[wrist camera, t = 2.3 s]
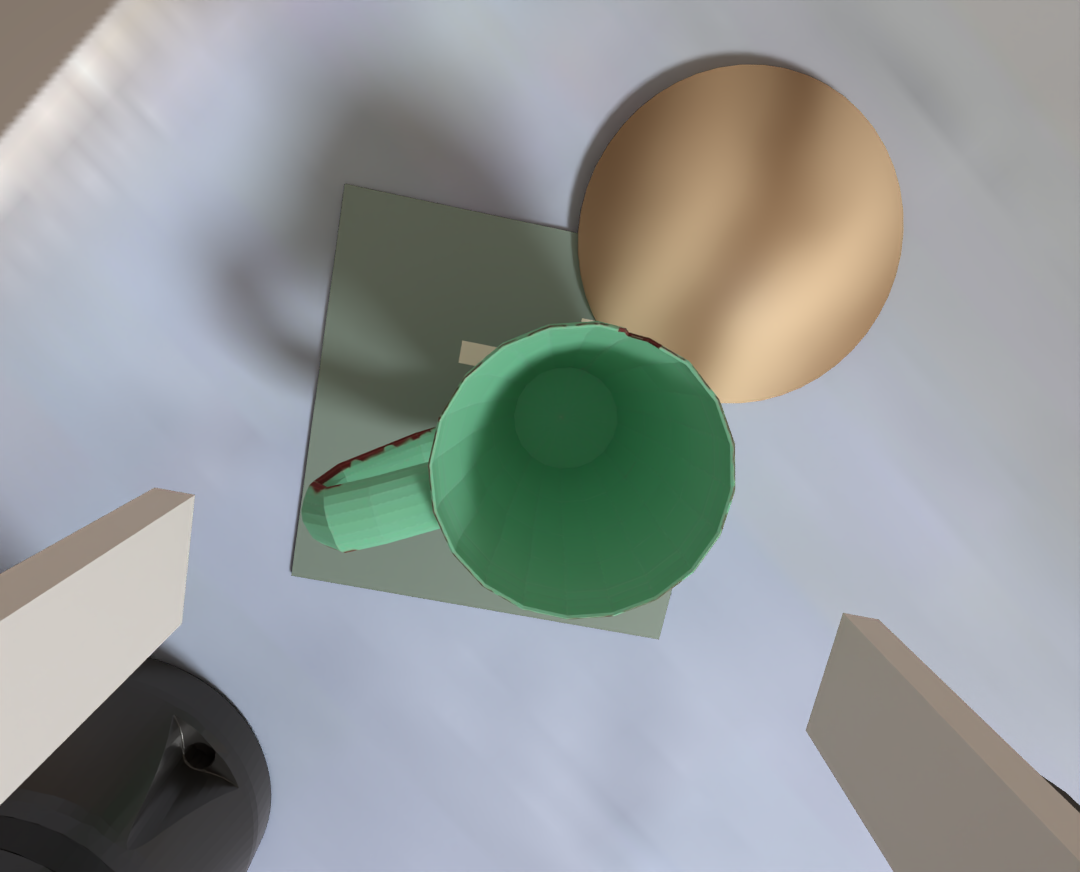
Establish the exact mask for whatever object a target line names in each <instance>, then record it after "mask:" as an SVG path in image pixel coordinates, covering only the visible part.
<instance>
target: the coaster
mask: <svg viewBox="0 0 1080 872" xmlns="http://www.w3.org/2000/svg"><path fill="white" fill-rule="evenodd" d="M902 240H903V206H902V199H901V193H900V187H899V183H898V180H897V176H896V173H895V169H894V166H893V164H892V161H891V159H890V157H889V154H888V152H887V150H886V147H885V146H884V144H883V142H882V141H881V139H880V137H879V136H878V134H877V132H876V131H875V129H874V128H873V126H872V125H871V124H870V123H869V121H868V120H867V119H866V118H865V117H864V115H863V114H862V113H861V112H860V111H859V110H858V109H857V108H856V107H855V106H854V105H853V104H852V103H851V102H850V101H848V100H847V99H846V98H845V97H844V96H843V95H841V94H840V93H838V92H837V91H835V90H834V89H832V88H831V87H829V86H828V85H826V84H824V83H822V82H820V81H818V80H816V79H814V78H812V77H810V76H808V75H805V74H802V73H799V72H796V71H793V70H789V69H786V68H781V67H774V66H768V65H734V66H727V67H719V68H716V69H712V70H708V71H705V72H701V73H698V74H695V75H693V76H691V77H688V78H686V79H684V80H681V81H679V82H677V83H675V84H673V85H672V86H670V87H668V88H667V89H665V90H663V91H662V92H660V93H658V94H657V95H655V96H654V97H653V98H652V99H650V100H649V101H648V102H647V103H645V104H644V105H643V106H642V107H640V108H639V109H638V110H637V111H636V112H635V113H634V114H633V115H632V116H631V117H630V118H629V119H628V120H627V121H626V122H625V123H624V125H623V126H622V127H621V128H620V129H619V131H618V132H617V134H616V135H615V136H614V138H613V139H612V140H611V142H610V143H609V144H608V146H607V147H606V149H605V151H604V153H603V154H602V156H601V158H600V160H599V162H598V163H597V165H596V167H595V169H594V172H593V174H592V177H591V179H590V181H589V184H588V186H587V189H586V193H585V196H584V200H583V204H582V208H581V213H580V220H579V227H578V259H579V267H580V275H581V279H582V284H583V288H584V292H585V296H586V298H587V301H588V303H589V306H590V308H591V311H592V314H593V316H594V318H595V319H596V321H600V322H604V323H608V324H612V325H616V326H620V327H624V328H626V329H627V330H628V332H630V333H633V334H637V335H641V336H644V337H649V338H651V339H652V340H654V341H656V342H658V343H659V344H661V345H663V346H664V347H666V348H668V349H669V350H671V351H673V352H675V353H676V354H678V355H680V356H681V357H683V358H685V359H686V360H688V361H690V363H691V364H692V365H693V366H694V368H695V369H696V370H697V371H698V373H699V374H700V375H701V377H702V378H703V379H704V380H705V382H706V383H707V384H708V385H709V387H710V388H711V389H712V391H713V392H714V393H715V394H716V396H717V397H718V398H719V400H720V403H746V402H753V401H761V400H765V399H769V398H773V397H777V396H780V395H783V394H786V393H788V392H791V391H793V390H796V389H798V388H801V387H803V386H804V385H806V384H808V383H810V382H812V381H813V380H815V379H817V378H819V377H820V376H822V375H823V374H824V373H826V372H827V371H829V370H830V369H831V368H833V367H834V366H835V365H837V364H838V363H839V362H840V361H841V360H842V359H843V358H844V357H845V356H847V355H848V354H849V353H850V352H851V351H852V350H853V349H854V348H855V346H856V345H857V344H858V343H859V342H860V341H861V339H862V338H863V337H864V336H865V335H866V333H867V332H868V330H869V329H870V327H871V326H872V324H873V323H874V321H875V320H876V318H877V317H878V315H879V313H880V311H881V309H882V307H883V306H884V304H885V302H886V300H887V298H888V296H889V293H890V290H891V287H892V285H893V282H894V279H895V276H896V273H897V268H898V264H899V260H900V256H901V249H902Z"/></svg>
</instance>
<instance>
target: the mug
mask: <svg viewBox="0 0 1080 872" xmlns="http://www.w3.org/2000/svg"><path fill="white" fill-rule="evenodd" d="M734 492H735V443H734V440H733V437H732V434H731V431H730V428H729V426H728V423H727V420H726V417H725V414H724V411H723V408H722V405H721V403H720V400H719V398H718V397H717V396H716V394H715V393H714V392H713V391H712V389H711V388H710V387H709V385H708V384H707V383H706V382H705V380H704V379H703V378H702V377H701V375H700V374H699V373H698V371H697V370H696V369H695V368H694V366H693V365H692V364H691V363H690V361H688V360H686V359H685V358H683V357H681V356H680V355H678V354H676V353H675V352H673V351H671V350H669V349H668V348H666V347H664V346H663V345H661V344H659V343H658V342H656V341H654V340H652V339H651V338H649V337H644V336H641V335H637V334H633V333H630V332H628V330H627V329H626V328H624V327H620V326H616V325H612V324H608V323H604V322H600V321H589V322H574V323H559V324H548V325H545V326H543V327H540V328H538V329H535V330H533V331H530V332H528V333H525V334H523V335H520V336H518V337H516V338H513V339H511V340H508V341H506V342H503V343H502V344H500V345H499V346H498V347H497V348H496V349H495V350H493V351H492V352H491V353H490V354H489V355H487V356H486V357H485V358H484V359H483V360H482V361H480V362H479V363H478V364H477V365H476V366H474V367H473V368H472V369H471V370H470V371H469V372H467V373H466V374H465V376H464V377H463V379H462V380H461V382H460V384H459V385H458V387H457V389H456V390H455V392H454V394H453V395H452V397H451V398H450V400H449V402H448V403H447V405H446V407H445V408H444V410H443V412H442V413H441V415H440V416H439V418H438V422H437V426H436V427H433V428H430V429H426V430H423V431H420V432H416V433H414V434H411V435H409V436H406V437H404V438H401V439H399V440H396V441H394V442H391V443H389V444H386V445H384V446H381V447H379V448H376V449H374V450H371V451H369V452H366V453H364V454H361V455H359V456H356V457H354V458H351V459H349V460H346V461H344V462H341V463H339V464H337V465H336V466H334V467H333V468H331V469H330V470H328V471H327V472H326V473H324V474H323V475H321V476H320V477H319V478H317V479H316V480H314V481H313V482H312V483H311V484H310V485H309V487H308V489H307V492H306V494H305V497H304V500H303V505H302V510H301V514H302V520H303V523H304V525H305V526H306V528H307V530H308V531H309V533H310V535H311V536H312V538H313V539H315V540H317V541H318V542H320V543H322V544H324V545H326V546H327V547H330V548H333V549H335V550H338V551H341V552H343V553H347V552H352V551H356V550H361V549H365V548H370V547H374V546H379V545H383V544H388V543H391V542H395V541H398V540H402V539H405V538H409V537H412V536H416V535H419V534H423V533H426V532H430V531H433V530H437V529H441V531H442V533H443V535H444V538H445V540H446V542H447V544H448V546H449V549H450V551H451V553H452V554H453V555H454V556H455V557H456V558H457V560H458V561H459V562H460V563H461V564H462V565H463V566H464V567H465V568H466V569H467V570H468V571H469V573H470V574H471V575H472V576H473V577H474V578H475V579H476V580H477V581H478V582H479V583H480V584H481V586H482V587H484V588H486V589H487V590H489V591H491V592H493V593H494V594H496V595H498V596H500V597H501V598H503V599H505V600H507V601H508V602H510V603H512V604H514V605H515V606H517V607H519V608H521V609H522V610H527V611H531V612H536V613H540V614H545V615H549V616H554V617H558V618H563V619H567V620H568V619H583V618H597V617H611V616H616V615H618V614H621V613H624V612H626V611H629V610H632V609H634V608H637V607H640V606H642V605H645V604H648V603H651V602H653V601H656V600H658V599H659V598H660V597H662V596H663V595H664V594H666V593H667V592H668V591H670V590H671V589H672V588H673V587H675V586H676V585H677V584H679V583H680V582H681V581H683V580H684V579H685V578H687V577H688V576H689V575H691V574H692V573H693V572H694V571H695V570H696V568H697V567H698V566H699V564H700V563H701V561H702V560H703V559H704V557H705V556H706V554H707V553H708V552H709V550H710V549H711V547H712V546H713V545H714V543H715V542H716V541H717V539H718V538H719V536H720V535H721V532H722V529H723V526H724V523H725V520H726V517H727V514H728V511H729V508H730V505H731V502H732V499H733V496H734Z"/></svg>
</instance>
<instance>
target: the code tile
mask: <svg viewBox="0 0 1080 872" xmlns="http://www.w3.org/2000/svg"><path fill="white" fill-rule="evenodd" d="M589 321H596V319H595V318H594V316H593V314H592V311H591V308H590V306H589V303H588V301H587V298H586V296H585V292H584V288H583V284H582V279H581V275H580V267H579V259H578V233H574V232H570V231H565V230H560V229H556V228H551V227H546V226H542V225H537V224H532V223H527V222H523V221H518V220H513V219H509V218H504V217H499V216H494V215H490V214H485V213H480V212H476V211H471V210H466V209H461V208H457V207H452V206H447V205H443V204H438V203H433V202H428V201H424V200H419V199H414V198H410V197H405V196H400V195H396V194H391V193H386V192H381V191H377V190H372V189H367V188H363V187H358V186H353V185H348V184H345V185H344V193H343V200H342V207H341V215H340V222H339V230H338V237H337V244H336V252H335V259H334V266H333V274H332V281H331V288H330V296H329V303H328V310H327V318H326V325H325V332H324V340H323V347H322V354H321V362H320V369H319V376H318V384H317V391H316V398H315V406H314V413H313V420H312V428H311V435H310V442H309V450H308V457H307V464H306V472H305V479H304V486H303V494H302V501H301V508H300V516H299V523H298V530H297V538H296V545H295V552H294V560H293V567H292V575H291V576H297V577H302V578H308V579H314V580H320V581H326V582H331V583H337V584H343V585H349V586H354V587H360V588H366V589H372V590H377V591H383V592H389V593H395V594H400V595H406V596H412V597H418V598H423V599H429V600H435V601H441V602H446V603H452V604H458V605H464V606H469V607H475V608H481V609H487V610H492V611H498V612H504V613H510V614H516V615H521V616H527V617H533V618H539V619H544V620H550V621H556V622H562V623H567V624H573V625H579V626H585V627H590V628H596V629H602V630H608V631H613V632H619V633H625V634H631V635H636V636H642V637H648V638H654V639H659V637H660V633H661V630H662V626H663V622H664V618H665V614H666V610H667V606H668V603H669V599H670V595H671V591H672V589H671V590H670V591H668V592H667V593H666V594H664V595H663V596H662V597H660V598H659V599H658V600H656V601H653V602H651V603H648V604H645V605H642V606H640V607H637V608H634V609H632V610H629V611H626V612H624V613H621V614H618V615H616V616H611V617H597V618H583V619H568V620H567V619H563V618H558V617H554V616H549V615H545V614H540V613H536V612H531V611H527V610H522V609H521V608H519V607H517V606H515V605H514V604H512V603H510V602H508V601H507V600H505V599H503V598H501V597H500V596H498V595H496V594H494V593H493V592H491V591H489V590H487V589H486V588H484V587H482V586H481V584H480V583H479V582H478V581H477V580H476V579H475V578H474V577H473V576H472V575H471V574H470V573H469V571H468V570H467V569H466V568H465V567H464V566H463V565H462V564H461V563H460V562H459V561H458V560H457V558H456V557H455V556H454V555H453V554H452V553H451V551H450V549H449V546H448V544H447V542H446V540H445V538H444V535H443V533H442V531H441V529H437V530H433V531H430V532H426V533H423V534H419V535H416V536H412V537H409V538H405V539H402V540H398V541H395V542H391V543H388V544H383V545H379V546H374V547H370V548H365V549H361V550H356V551H352V552H347V553H343V552H341V551H338V550H335V549H333V548H330V547H327V546H326V545H324V544H322V543H320V542H318V541H317V540H315V539H313V538H312V536H311V535H310V533H309V531H308V530H307V528H306V526H305V525H304V523H303V520H302V514H301V510H302V505H303V500H304V497H305V494H306V492H307V489H308V487H309V485H310V484H311V483H312V482H313V481H314V480H316V479H317V478H319V477H320V476H321V475H323V474H324V473H326V472H327V471H328V470H330V469H331V468H333V467H334V466H336V465H337V464H339V463H341V462H344V461H346V460H349V459H351V458H354V457H356V456H359V455H361V454H364V453H366V452H369V451H371V450H374V449H376V448H379V447H381V446H384V445H386V444H389V443H391V442H394V441H396V440H399V439H401V438H404V437H406V436H409V435H411V434H414V433H416V432H420V431H423V430H426V429H430V428H433V427H436V426H437V422H438V418H439V416H440V415H441V413H442V412H443V410H444V408H445V407H446V405H447V403H448V402H449V400H450V398H451V397H452V395H453V394H454V392H455V390H456V389H457V387H458V385H459V384H460V382H461V380H462V379H463V377H464V376H465V374H466V373H467V372H469V371H470V370H471V369H472V368H473V367H474V366H476V365H477V364H478V363H479V362H480V361H482V360H483V359H484V358H485V357H486V356H487V355H489V354H490V353H491V352H492V351H493V350H495V349H496V348H497V347H498V346H499V345H500V344H502V343H503V342H506V341H508V340H511V339H513V338H516V337H518V336H520V335H523V334H525V333H528V332H530V331H533V330H535V329H538V328H540V327H543V326H545V325H548V324H559V323H574V322H589Z"/></svg>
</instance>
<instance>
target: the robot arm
mask: <svg viewBox="0 0 1080 872" xmlns="http://www.w3.org/2000/svg"><path fill="white" fill-rule="evenodd" d="M194 499H195V495H192V494H187V493H182V492H176V491H171V490H165V489H160V488H153V489H151V490H150V491H148V492H146V493H144V494H142V495H141V496H139V497H137V498H135V499H133V500H132V501H130V502H128V503H126V504H124V505H123V506H121V507H119V508H117V509H116V510H114V511H112V512H110V513H108V514H107V515H105V516H103V517H101V518H99V519H98V520H96V521H94V522H92V523H90V524H89V525H87V526H85V527H83V528H82V529H80V530H78V531H76V532H74V533H73V534H71V535H69V536H67V537H65V538H64V539H62V540H60V541H58V542H56V543H55V544H53V545H51V546H49V547H48V548H46V549H44V550H42V551H40V552H39V553H37V554H35V555H33V556H31V557H30V558H28V559H26V560H24V561H22V562H21V563H19V564H17V565H15V566H14V567H12V568H10V569H8V570H6V571H5V572H3V573H1V574H0V872H247V870H248V868H249V866H250V863H251V861H252V859H253V857H254V855H255V853H256V851H257V849H258V846H259V844H260V842H261V840H262V838H263V835H264V833H265V830H266V827H267V823H268V820H269V814H270V807H271V784H270V777H269V771H268V767H267V764H266V760H265V757H264V755H263V752H262V750H261V747H260V745H259V743H258V741H257V739H256V737H255V735H254V734H253V732H252V731H251V729H250V727H249V726H248V724H247V723H246V722H245V720H244V719H243V718H242V716H241V715H240V714H239V713H238V712H237V711H236V709H235V708H234V707H233V706H232V705H231V704H230V703H229V702H228V701H227V700H226V699H225V698H223V697H222V696H221V695H220V694H219V693H218V692H216V691H215V690H214V689H212V688H211V687H210V686H208V685H207V684H205V683H204V682H202V681H201V680H199V679H198V678H196V677H194V676H192V675H191V674H189V673H187V672H185V671H183V670H181V669H179V668H176V667H174V666H171V665H169V664H167V663H164V662H161V661H158V660H155V659H151V658H148V657H149V656H150V655H151V654H152V653H153V652H154V651H155V650H156V649H157V648H158V647H159V646H160V645H161V644H162V643H163V642H164V641H165V640H166V639H167V638H168V637H169V636H170V635H171V634H172V633H173V632H174V631H175V630H176V629H177V628H178V627H179V626H180V625H181V624H182V617H183V607H184V597H185V588H186V578H187V568H188V558H189V548H190V538H191V528H192V519H193V509H194ZM806 731H807V733H808V735H809V736H810V738H811V740H812V741H813V743H814V744H815V746H816V748H817V749H818V751H819V752H820V754H821V756H822V757H823V759H824V760H825V762H826V764H827V765H828V767H829V769H830V770H831V772H832V773H833V775H834V777H835V778H836V780H837V781H838V783H839V785H840V786H841V788H842V789H843V791H844V793H845V794H846V796H847V797H848V799H849V801H850V802H851V804H852V806H853V807H854V809H855V810H856V812H857V814H858V815H859V817H860V818H861V820H862V822H863V823H864V825H865V826H866V828H867V830H868V831H869V833H870V834H871V836H872V838H873V839H874V841H875V843H876V844H877V846H878V847H879V849H880V851H881V852H882V854H883V855H884V857H885V859H886V860H887V862H888V863H889V865H890V867H891V868H892V870H893V872H1080V805H1079V804H1077V803H1076V802H1075V801H1074V800H1073V799H1072V798H1071V797H1070V796H1069V795H1068V794H1067V793H1066V792H1064V791H1063V790H1062V789H1060V788H1059V787H1057V786H1056V785H1054V784H1053V783H1051V782H1050V781H1048V780H1047V779H1046V778H1044V777H1043V776H1041V775H1040V774H1039V773H1038V772H1037V771H1036V770H1035V769H1033V768H1032V767H1031V766H1030V765H1029V764H1028V763H1027V762H1026V761H1025V760H1024V759H1023V758H1022V757H1021V756H1020V755H1019V754H1018V753H1017V752H1016V751H1015V750H1014V749H1013V748H1012V747H1011V746H1010V745H1009V744H1008V743H1006V742H1005V741H1004V740H1003V739H1002V738H1001V737H1000V736H999V735H998V734H997V733H996V732H995V731H994V730H993V729H992V728H991V727H990V726H989V725H988V724H987V723H986V722H985V721H984V720H983V719H982V718H981V717H979V716H978V715H977V714H976V713H975V712H974V711H973V710H972V709H971V708H970V707H969V706H968V705H967V704H966V703H965V702H964V701H963V700H962V699H961V698H960V697H959V696H958V695H957V694H956V693H955V692H953V691H952V690H951V689H950V688H949V687H948V686H947V685H946V684H945V683H944V682H943V681H942V680H941V679H940V678H939V677H938V676H937V675H936V674H935V673H934V672H933V671H932V670H931V669H930V668H929V667H928V666H926V665H925V664H924V663H923V662H922V661H921V660H920V659H919V658H918V657H917V656H916V655H915V654H914V653H913V652H912V651H911V650H910V649H909V648H908V647H907V646H906V645H905V644H904V643H903V642H902V641H901V640H899V639H898V638H897V637H896V636H895V635H894V634H893V633H892V632H891V631H890V630H889V629H888V628H887V627H886V626H885V625H884V624H883V623H882V622H881V621H880V620H879V619H873V618H868V617H862V616H857V615H851V614H846V613H843V615H842V618H841V621H840V624H839V627H838V631H837V634H836V637H835V640H834V643H833V646H832V649H831V653H830V656H829V659H828V662H827V665H826V668H825V671H824V675H823V678H822V681H821V684H820V687H819V690H818V693H817V697H816V700H815V703H814V706H813V709H812V712H811V715H810V719H809V722H808V725H807V728H806Z"/></svg>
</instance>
